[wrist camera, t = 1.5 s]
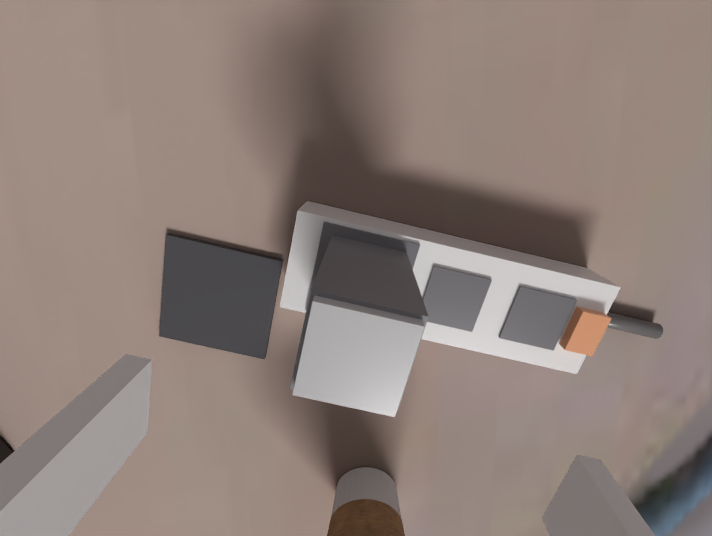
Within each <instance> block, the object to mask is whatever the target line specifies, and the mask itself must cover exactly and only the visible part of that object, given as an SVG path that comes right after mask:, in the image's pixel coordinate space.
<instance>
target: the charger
mask: <svg viewBox="0 0 712 536" xmlns="http://www.w3.org/2000/svg"><path fill="white" fill-rule="evenodd" d="M428 317H429V316H428V313H427V310H426V307H425V305H424V302H423V299H422V296H421V293H420V290H419V287H418V284H417V281H416V278H415V275H414V272H413V269H412V266H411V263H410V260H409V258H408V255H407V252H403V251H398V250H394V249H390V248H386V247H382V246H377V245H373V244H369V243H365V242H360V241H356V240H352V239H348V238H343V237H339V236H335V235H332V236H331V239H330V242H329V244H328V247H327V249H326V252H325V255H324V257H323V260H322V262H321V265H320V267H319V270H318V273H317V275H316V278H315V280H314V283H313V285H312V288H311V291H310V296H309V301H308V306H307V310H306V315H305V320H304V325H303V329H302V334H301V339H300V344H299V348H298V353H297V358H296V363H295V367H294V372H293V377H292V381H291V386H290V389H291V390H293V395H294V396H299V397H303V398H308V399H313V400H317V401H322V402H326V403H331V404H336V405H340V406H345V407H350V408H354V409H359V410H364V411H368V412H373V413H377V414H382V415H387V416H391V417H395V415H396V412H397V410H398V407H399V404H400V401H401V398H402V395H403V392H404V389H405V386H406V383H407V380H408V377H409V374H410V371H411V368H412V365H413V362H414V359H415V356H416V353H417V350H418V347H419V344H420V341H421V338H422V335H423V332H424V329H425V326H426V323H427V320H428Z"/></svg>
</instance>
